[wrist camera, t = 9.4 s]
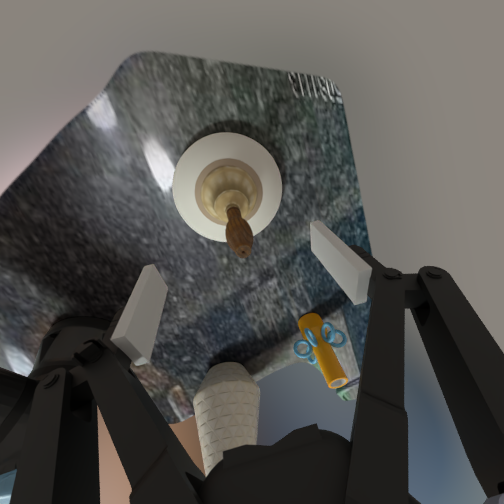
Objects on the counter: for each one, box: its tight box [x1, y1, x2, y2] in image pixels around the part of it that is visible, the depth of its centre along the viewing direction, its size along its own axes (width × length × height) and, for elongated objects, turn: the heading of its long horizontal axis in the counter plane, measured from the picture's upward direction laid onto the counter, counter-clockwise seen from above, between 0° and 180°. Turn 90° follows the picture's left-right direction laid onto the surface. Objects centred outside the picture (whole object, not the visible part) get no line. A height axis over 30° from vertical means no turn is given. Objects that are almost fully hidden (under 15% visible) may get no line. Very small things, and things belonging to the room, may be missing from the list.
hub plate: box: [172, 132, 282, 242], centre depth 31 cm, size 16×16×2 cm
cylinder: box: [294, 313, 348, 388], centre depth 46 cm, size 12×10×15 cm
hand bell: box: [201, 165, 257, 258], centre depth 23 cm, size 8×8×16 cm
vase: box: [193, 362, 260, 477], centre depth 50 cm, size 18×17×23 cm
